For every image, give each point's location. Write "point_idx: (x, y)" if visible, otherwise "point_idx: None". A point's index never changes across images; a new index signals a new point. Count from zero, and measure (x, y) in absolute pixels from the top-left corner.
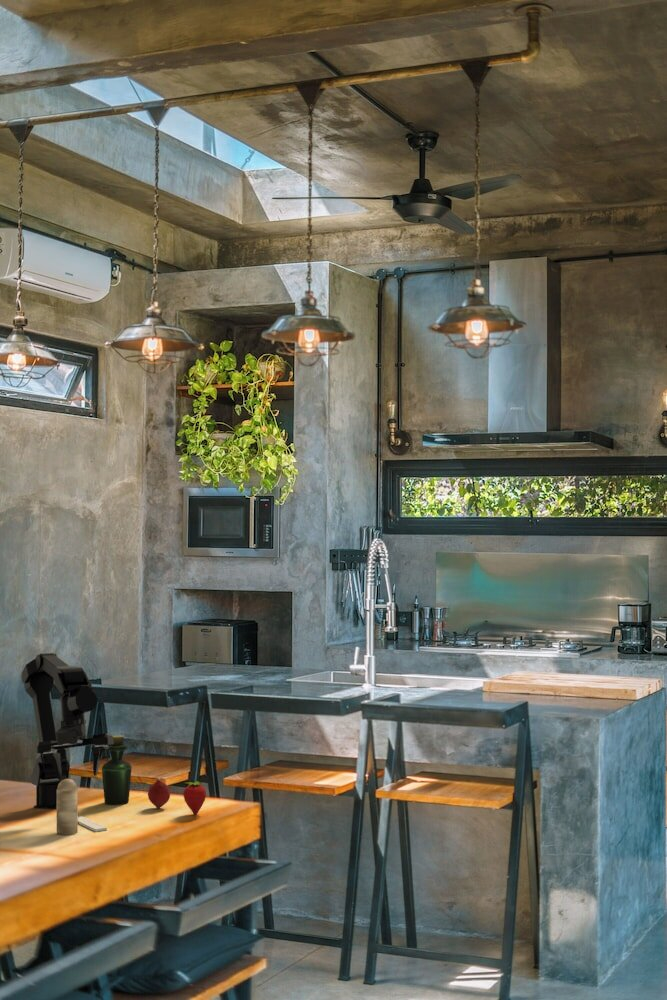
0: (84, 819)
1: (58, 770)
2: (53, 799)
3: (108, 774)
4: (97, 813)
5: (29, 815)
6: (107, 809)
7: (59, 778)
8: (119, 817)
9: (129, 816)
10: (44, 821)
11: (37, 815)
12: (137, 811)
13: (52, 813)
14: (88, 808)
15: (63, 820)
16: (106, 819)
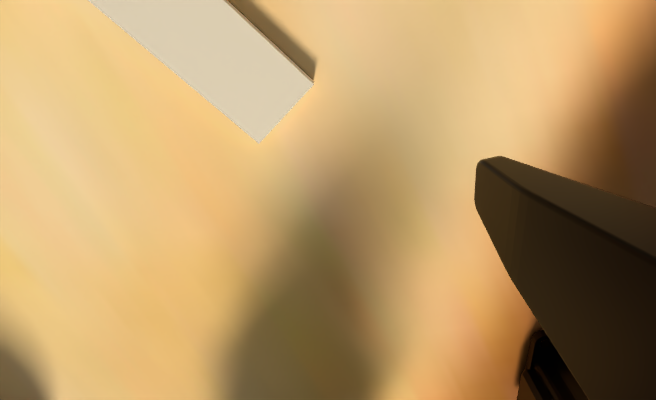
0: (191, 51)
1: (568, 212)
2: (574, 384)
3: None
4: (248, 291)
5: (646, 163)
6: (246, 380)
7: (495, 161)
8: (53, 224)
9: (12, 260)
10: (490, 7)
11: (594, 173)
12: (56, 373)
13: None
14: (359, 380)
15: None
16: (96, 156)
